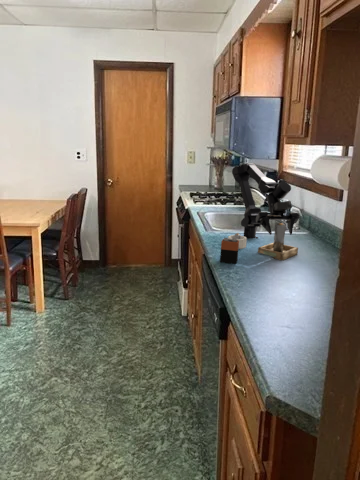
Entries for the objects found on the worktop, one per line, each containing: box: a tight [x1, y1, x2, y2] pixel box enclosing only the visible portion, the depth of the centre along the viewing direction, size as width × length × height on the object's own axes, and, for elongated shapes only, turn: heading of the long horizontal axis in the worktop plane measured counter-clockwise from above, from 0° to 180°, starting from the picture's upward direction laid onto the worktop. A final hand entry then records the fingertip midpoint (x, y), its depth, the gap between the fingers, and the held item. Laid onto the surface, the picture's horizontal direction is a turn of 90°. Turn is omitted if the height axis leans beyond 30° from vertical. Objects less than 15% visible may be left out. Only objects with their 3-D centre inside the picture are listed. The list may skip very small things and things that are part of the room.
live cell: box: [273, 222, 287, 253], centre depth 179 cm, size 4×4×13 cm
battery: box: [219, 237, 239, 265], centre depth 166 cm, size 4×7×10 cm, turn 77°
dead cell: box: [234, 232, 242, 239], centre depth 188 cm, size 3×3×6 cm
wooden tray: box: [257, 242, 299, 261], centre depth 181 cm, size 14×12×3 cm
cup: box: [227, 234, 248, 250], centre depth 188 cm, size 8×8×5 cm
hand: (281, 234), depth 177 cm, fingers open, 9 cm apart
